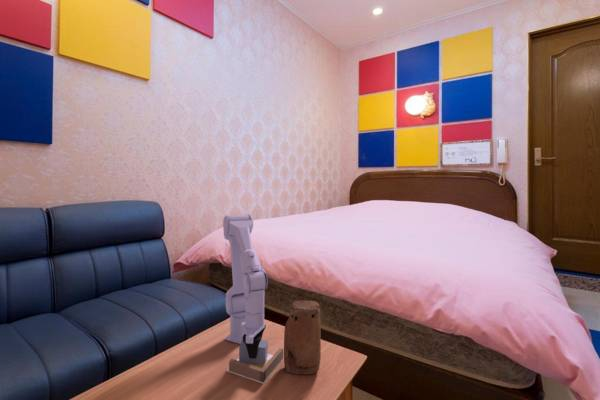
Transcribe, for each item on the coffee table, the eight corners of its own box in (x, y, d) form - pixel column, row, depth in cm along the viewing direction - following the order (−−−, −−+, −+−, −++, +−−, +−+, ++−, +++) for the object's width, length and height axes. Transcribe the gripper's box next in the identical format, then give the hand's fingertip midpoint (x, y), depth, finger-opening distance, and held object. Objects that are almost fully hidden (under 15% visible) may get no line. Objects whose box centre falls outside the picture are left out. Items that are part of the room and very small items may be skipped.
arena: (249, 349, 96) (249, 339, 96) (283, 359, 91) (283, 348, 91) (226, 371, 85) (226, 360, 85) (263, 383, 80) (263, 372, 80)
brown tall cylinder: (317, 360, 91) (319, 298, 90) (321, 376, 84) (322, 309, 82) (283, 361, 90) (284, 299, 89) (283, 377, 83) (285, 310, 81)
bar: (267, 355, 91) (267, 340, 90) (265, 363, 87) (265, 347, 86) (242, 354, 91) (242, 339, 91) (239, 362, 87) (239, 346, 87)
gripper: (247, 300, 95) (247, 339, 96) (235, 321, 81) (235, 367, 82) (268, 300, 95) (268, 340, 96) (260, 322, 80) (259, 368, 81)
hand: (254, 353), depth 89 cm, fingers closed on bar, 4 cm apart
